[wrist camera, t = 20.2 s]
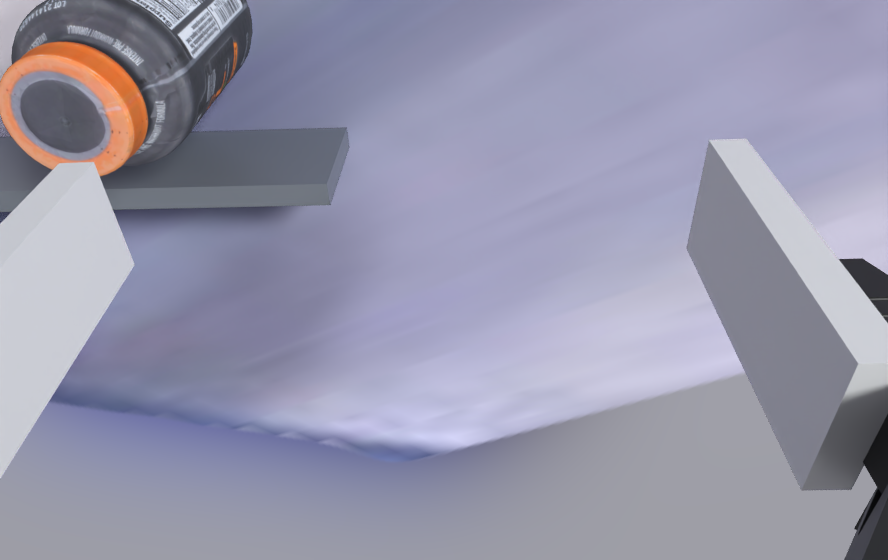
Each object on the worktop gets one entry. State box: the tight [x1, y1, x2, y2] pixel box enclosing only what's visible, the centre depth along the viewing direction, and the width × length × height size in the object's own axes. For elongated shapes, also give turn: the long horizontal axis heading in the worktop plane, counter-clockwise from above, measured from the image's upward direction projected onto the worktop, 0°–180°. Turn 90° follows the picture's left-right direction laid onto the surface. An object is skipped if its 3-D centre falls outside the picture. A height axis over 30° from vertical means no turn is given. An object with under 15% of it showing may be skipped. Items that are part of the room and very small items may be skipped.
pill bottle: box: [0, 0, 252, 176], centre depth 25 cm, size 6×6×11 cm
